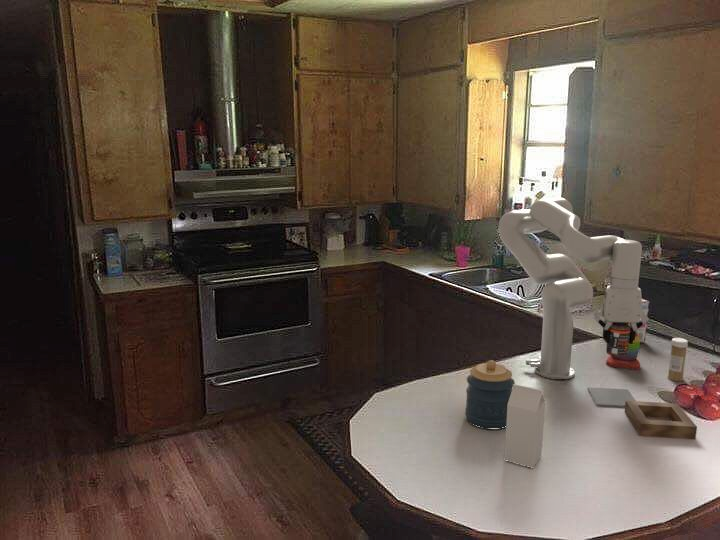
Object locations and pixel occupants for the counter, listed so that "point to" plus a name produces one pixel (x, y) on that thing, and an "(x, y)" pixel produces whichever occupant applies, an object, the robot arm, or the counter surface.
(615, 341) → the supplement bottle
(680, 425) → the pocket block
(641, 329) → the candy bar box
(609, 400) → the slate coaster
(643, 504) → the counter surface
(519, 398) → the milk carton
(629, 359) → the stacking bear
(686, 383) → the counter surface
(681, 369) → the sprinkles bottle
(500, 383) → the canister
